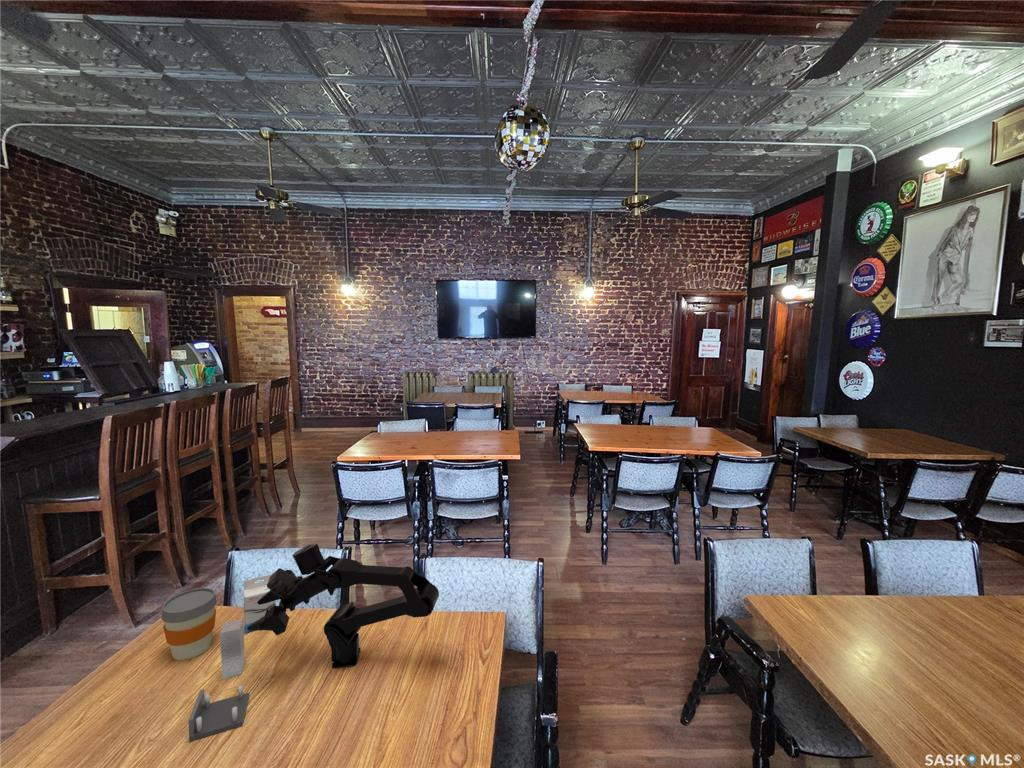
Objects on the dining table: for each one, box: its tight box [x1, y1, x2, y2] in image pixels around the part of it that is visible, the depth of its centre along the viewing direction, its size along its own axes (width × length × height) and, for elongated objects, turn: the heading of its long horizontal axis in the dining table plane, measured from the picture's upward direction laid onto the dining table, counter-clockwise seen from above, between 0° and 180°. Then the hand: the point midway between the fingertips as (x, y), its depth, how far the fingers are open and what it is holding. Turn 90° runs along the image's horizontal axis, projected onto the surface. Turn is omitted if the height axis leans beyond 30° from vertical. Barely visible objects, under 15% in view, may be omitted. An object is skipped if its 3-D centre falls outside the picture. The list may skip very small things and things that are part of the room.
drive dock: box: [187, 684, 250, 742], centre depth 98 cm, size 10×9×5 cm
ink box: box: [243, 573, 277, 634], centre depth 130 cm, size 8×5×15 cm, turn 123°
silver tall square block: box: [219, 618, 246, 680], centre depth 112 cm, size 4×4×13 cm
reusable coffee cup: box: [161, 587, 218, 661], centre depth 120 cm, size 13×13×15 cm
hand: (253, 615), depth 113 cm, fingers open, 9 cm apart
